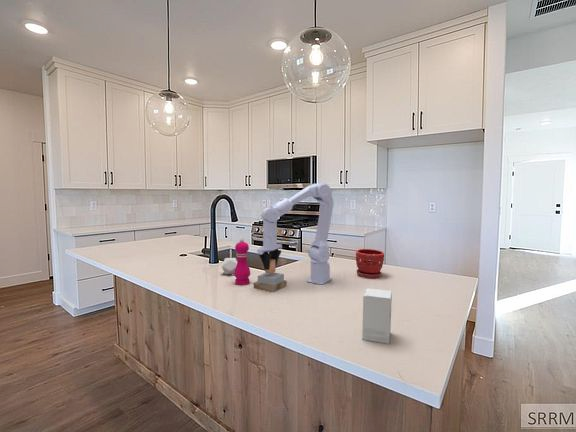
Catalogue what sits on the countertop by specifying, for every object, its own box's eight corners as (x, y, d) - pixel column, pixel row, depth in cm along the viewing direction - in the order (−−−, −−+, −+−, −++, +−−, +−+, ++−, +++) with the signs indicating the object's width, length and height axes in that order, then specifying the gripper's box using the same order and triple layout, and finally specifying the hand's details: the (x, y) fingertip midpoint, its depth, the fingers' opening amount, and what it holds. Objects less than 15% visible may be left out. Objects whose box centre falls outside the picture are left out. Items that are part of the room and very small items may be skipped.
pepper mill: (247, 285, 135) (246, 240, 133) (231, 284, 137) (230, 239, 135) (252, 281, 142) (252, 237, 141) (237, 280, 144) (237, 236, 142)
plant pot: (355, 278, 146) (355, 253, 145) (355, 271, 159) (356, 248, 158) (384, 280, 143) (385, 254, 142) (382, 273, 156) (383, 249, 155)
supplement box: (389, 344, 84) (390, 298, 83) (361, 339, 87) (362, 295, 86) (391, 332, 91) (392, 290, 90) (365, 328, 94) (366, 287, 93)
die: (233, 278, 149) (243, 260, 152) (217, 269, 148) (227, 252, 152) (232, 280, 156) (242, 263, 160) (217, 271, 156) (227, 254, 159)
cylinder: (269, 269, 136) (269, 258, 135) (277, 271, 133) (277, 259, 133) (262, 271, 132) (262, 260, 132) (271, 273, 130) (271, 261, 129)
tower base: (267, 283, 140) (267, 277, 140) (286, 287, 135) (286, 280, 135) (253, 289, 132) (253, 282, 132) (272, 293, 127) (272, 286, 126)
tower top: (268, 278, 138) (268, 271, 138) (283, 281, 134) (283, 274, 134) (257, 282, 131) (257, 275, 131) (273, 285, 127) (273, 278, 127)
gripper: (272, 233, 140) (272, 263, 141) (251, 237, 128) (251, 270, 129) (285, 234, 136) (285, 265, 137) (265, 239, 124) (265, 273, 125)
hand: (270, 268), depth 133 cm, fingers closed on cylinder, 4 cm apart
